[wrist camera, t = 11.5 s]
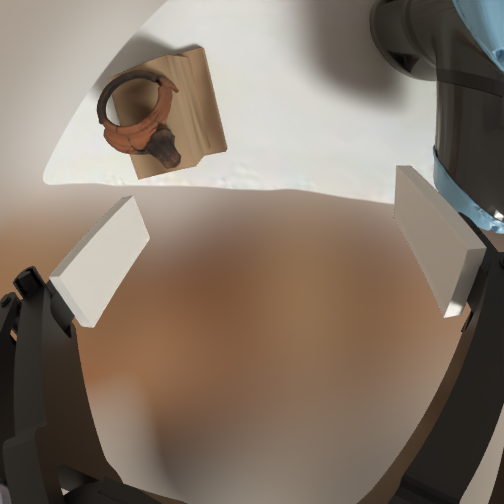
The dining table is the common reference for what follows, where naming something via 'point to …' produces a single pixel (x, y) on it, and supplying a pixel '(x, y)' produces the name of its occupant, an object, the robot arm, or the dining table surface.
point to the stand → (174, 109)
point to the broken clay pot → (143, 122)
